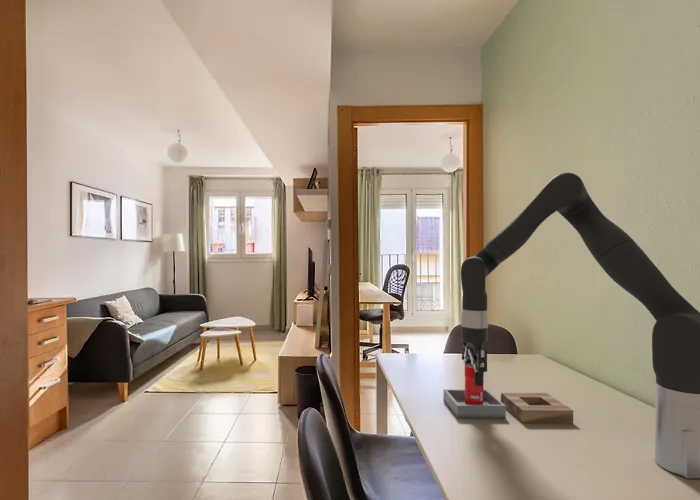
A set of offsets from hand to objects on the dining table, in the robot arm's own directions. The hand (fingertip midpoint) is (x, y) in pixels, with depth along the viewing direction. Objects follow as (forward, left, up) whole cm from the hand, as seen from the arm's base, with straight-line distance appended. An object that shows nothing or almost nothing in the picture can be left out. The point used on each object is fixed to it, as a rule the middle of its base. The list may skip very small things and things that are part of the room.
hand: (473, 380), depth 120 cm
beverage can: (0, 0, -8) cm, 8 cm away
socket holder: (-3, -17, -8) cm, 19 cm away
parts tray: (0, 0, -8) cm, 8 cm away
